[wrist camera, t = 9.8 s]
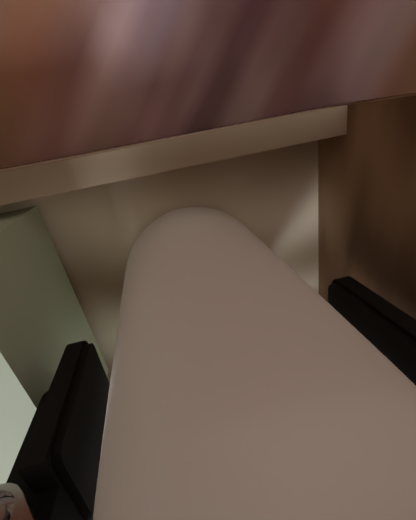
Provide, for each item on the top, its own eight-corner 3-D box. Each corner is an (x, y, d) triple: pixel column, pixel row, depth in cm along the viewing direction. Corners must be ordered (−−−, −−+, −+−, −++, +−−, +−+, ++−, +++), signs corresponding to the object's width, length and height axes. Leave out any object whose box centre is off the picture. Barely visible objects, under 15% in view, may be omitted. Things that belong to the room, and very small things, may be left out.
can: (223, 177, 13) (659, 426, 2) (273, 285, 16) (562, 625, 5) (96, 248, 13) (-144, 846, 2) (170, 342, 16) (226, 796, 5)
